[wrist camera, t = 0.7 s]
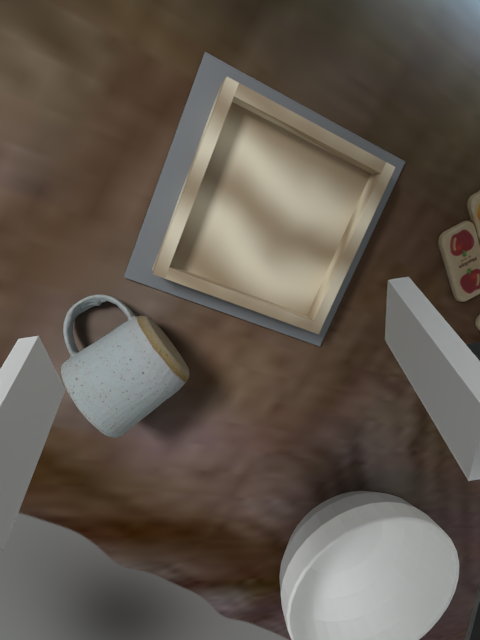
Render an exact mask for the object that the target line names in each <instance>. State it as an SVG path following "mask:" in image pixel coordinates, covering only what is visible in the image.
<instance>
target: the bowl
mask: <svg viewBox="0 0 480 640" xmlns="http://www.w3.org/2000/svg"><path fill="white" fill-rule="evenodd" d="M458 579H459V560H458V554H457V550H456V548H455V546H454V544H453V542H452V540H451V538H450V537H449V536H448V535H447V534H446V533H445V532H444V531H443V529H441V528H440V527H439V526H438V525H437V524H436V523H435V522H434V521H433V520H432V519H431V518H430V517H429V516H428V515H427V514H425V513H424V512H422V511H420V510H419V509H417V508H416V507H414V506H413V505H411V504H410V503H408V502H406V501H405V500H403V499H402V498H400V497H397V496H394V495H391V494H386V493H379V492H371V491H352V492H347V493H343V494H340V495H337V496H335V497H332V498H330V499H328V500H326V501H324V502H322V503H321V504H319V505H318V506H316V507H315V508H314V509H313V510H311V511H310V512H309V513H308V514H307V515H306V516H305V517H304V518H303V519H302V520H301V522H300V523H299V524H298V525H297V526H296V528H295V530H294V532H293V533H292V535H291V537H290V540H289V542H288V545H287V548H286V551H285V554H284V556H283V559H282V562H281V568H280V588H281V602H282V610H283V613H284V617H285V621H286V625H287V629H288V632H289V635H290V637H291V640H419V639H420V638H421V637H423V636H424V635H425V634H426V633H427V632H428V631H429V630H430V629H431V628H432V627H433V626H434V625H435V624H436V623H437V621H438V620H439V619H440V618H441V616H442V615H443V613H444V612H445V610H446V609H447V607H448V606H449V604H450V601H451V599H452V597H453V595H454V593H455V590H456V586H457V582H458Z"/></svg>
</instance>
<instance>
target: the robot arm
mask: <svg viewBox="0 0 480 640" xmlns="http://www.w3.org/2000/svg"><path fill="white" fill-rule="evenodd" d="M385 341H386V343H387V344H388V346H389V348H390V349H391V351H392V353H393V355H394V356H395V358H396V360H397V361H398V363H399V365H400V366H401V368H402V370H403V371H404V373H405V375H406V376H407V378H408V380H409V382H410V383H411V385H412V387H413V388H414V390H415V392H416V393H417V395H418V397H419V398H420V400H421V402H422V403H423V405H424V407H425V409H426V410H427V412H428V414H429V415H430V417H431V419H432V420H433V422H434V424H435V425H436V427H437V429H438V431H439V432H440V434H441V436H442V437H443V439H444V441H445V442H446V444H447V446H448V447H449V449H450V451H451V452H452V454H453V456H454V458H455V459H456V461H457V463H458V464H459V466H460V468H461V469H462V471H463V473H464V474H465V476H466V478H467V480H468V481H472V480H478V479H480V342H479V343H472V344H465V343H464V342H463V341H462V339H461V338H460V337H459V336H458V335H457V333H456V332H455V331H454V330H453V329H452V328H451V326H450V325H449V324H448V323H447V322H446V320H445V319H444V318H443V317H442V316H441V315H440V313H439V312H438V311H437V310H436V309H435V307H434V306H433V305H432V304H431V303H430V301H429V300H428V299H427V298H426V297H425V296H424V294H423V293H422V292H421V291H420V290H419V288H418V287H417V286H416V285H415V284H414V282H413V281H412V280H411V279H410V278H409V277H404V278H397V279H391V280H388V288H387V307H386V325H385ZM64 392H65V388H64V386H63V384H62V382H61V380H60V378H59V376H58V374H57V372H56V370H55V368H54V366H53V364H52V362H51V360H50V358H49V356H48V354H47V352H46V350H45V348H44V346H43V344H42V342H41V340H40V338H39V336H34V337H28V338H22V339H18V341H17V342H16V344H15V346H14V347H13V349H12V351H11V352H10V354H9V356H8V357H7V359H6V361H5V362H4V364H3V366H2V367H1V369H0V551H4V548H5V546H6V543H7V540H8V538H9V535H10V533H11V530H12V527H13V524H14V522H15V520H16V517H17V514H18V512H19V509H20V507H21V504H22V501H23V499H24V496H25V494H26V491H27V488H28V486H29V483H30V481H31V478H32V475H33V473H34V470H35V468H36V465H37V462H38V460H39V457H40V455H41V452H42V449H43V447H44V444H45V442H46V439H47V436H48V434H49V431H50V429H51V426H52V423H53V421H54V418H55V416H56V413H57V410H58V408H59V405H60V403H61V400H62V397H63V395H64ZM465 640H480V584H479V588H478V592H477V596H476V599H475V603H474V607H473V611H472V614H471V618H470V622H469V625H468V629H467V633H466V637H465Z"/></svg>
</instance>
